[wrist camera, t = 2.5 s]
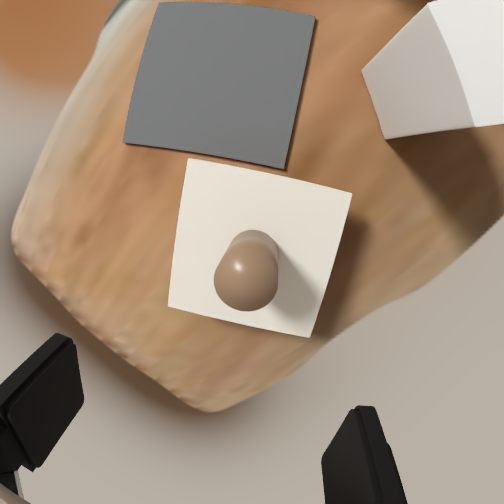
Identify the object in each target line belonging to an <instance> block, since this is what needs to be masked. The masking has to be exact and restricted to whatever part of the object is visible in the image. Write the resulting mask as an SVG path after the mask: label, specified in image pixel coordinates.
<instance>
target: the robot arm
mask: <svg viewBox="0 0 504 504" xmlns="http://www.w3.org/2000/svg"><path fill="white" fill-rule="evenodd" d="M83 403H84V394H83V389H82V383H81V378H80V371H79V364H78V358H77V350H76V345H75V344H73V341H72V339H71V338H69V337H66V336H64V335H62V334H59V333H56V334H54V335H53V336H52V337H51V338H49V340H47V341H46V342H45V343H44V344H43V345H42V346H41V347H40V348H38V349H37V350H36V351H35V352H34V353H33V354H32V355H31V356H30V357H29V358H28V359H27V360H26V361H24V362H23V363H22V364H21V365H20V366H19V367H18V368H17V369H16V370H15V371H14V372H13V373H12V374H11V375H10V376H9V377H8V378H7V379H6V380H5V381H4V382H3V383H2V384H1V385H0V504H30V503H29V502H27V501H26V500H24V497H23V493H22V488H21V484H20V479H19V474H18V469H19V467H20V466H21V465H23V466H24V467H26V468H27V469H29V470H30V471H32V472H33V471H34V470H35V468H36V467H37V468H39V467H41V465H42V464H43V463H44V461H45V460H46V458H47V457H48V455H49V454H50V452H51V451H52V449H53V448H54V446H55V444H56V443H57V442H58V440H59V439H60V437H61V436H62V434H63V433H64V431H65V430H66V428H67V427H68V426H69V424H70V422H71V421H72V420H73V418H74V417H75V416H76V414H77V413H78V411H79V410H80V408H81V407H82V405H83ZM321 465H322V474H323V484H324V495H325V504H407V500H406V497H405V493H404V490H403V486H402V483H401V479H400V476H399V473H398V470H397V466H396V463H395V460H394V457H393V454H392V450H391V448H390V446H389V444H388V443H387V442H386V439H385V436H384V433H383V429H382V426H381V424H380V420H379V418H378V415H377V412H376V409H375V408H374V407H373V406H356V407H355V409H351V410H350V411H349V413H348V415H347V416H346V418H345V420H344V422H343V423H342V425H341V427H340V428H339V430H338V431H337V433H336V435H335V437H334V438H333V440H332V441H331V443H330V445H329V446H328V448H327V449H326V451H325V452H324V454H323V456H322V461H321Z"/></svg>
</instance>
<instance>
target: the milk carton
mask: <svg viewBox="0 0 504 504" xmlns="http://www.w3.org/2000/svg"><path fill="white" fill-rule="evenodd" d="M362 75H363V77H364V80H365V83H366V85H367V88H368V91H369V94H370V96H371V99H372V102H373V105H374V108H375V111H376V114H377V117H378V120H379V123H380V127H381V130H382V133H383V136H384V139H393V138H399V137H405V136H411V135H418V134H425V133H432V132H439V131H446V130H454V129H463V128H472V127H481V126H488V125H496V124H504V0H437V1H433V2H429V3H427V5H426V6H425V7H424V8H423V9H422V10H421V11H419V12H418V13H417V14H416V15H415V16H414V17H413V18H412V19H411V20H410V21H409V22H408V23H407V24H406V25H405V26H404V27H403V28H402V29H401V30H400V31H399V32H398V33H397V34H396V35H395V36H394V37H393V38H392V39H391V40H390V41H389V42H388V43H387V44H386V46H385V47H384V48H383V49H382V50H381V51H380V52H379V53H378V54H377V55H376V56H375V57H374V58H373V59H372V60H371V61H370V62H369V63H368V64H367V65H366V66H365V67H364V68H363V69H362Z"/></svg>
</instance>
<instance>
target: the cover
mask: <svg viewBox="0 0 504 504" xmlns="http://www.w3.org/2000/svg"><path fill="white" fill-rule="evenodd" d="M351 197H352V193H349V192H346V191H342V190H338V189H334V188H330V187H326V186H322V185H318V184H314V183H310V182H306V181H302V180H298V179H293V178H289V177H285V176H280V175H276V174H271V173H266V172H262V171H257V170H252V169H247V168H242V167H237V166H232V165H226V164H221V163H215V162H210V161H204V160H198V159H192V158H188V163H187V168H186V174H185V180H184V186H183V192H182V198H181V204H180V211H179V217H178V224H177V231H176V239H175V246H174V254H173V262H172V271H171V280H170V290H169V300H168V306H169V307H173V308H177V309H181V310H185V311H189V312H192V313H196V314H200V315H205V316H209V317H213V318H217V319H221V320H226V321H230V322H234V323H239V324H243V325H248V326H253V327H257V328H262V329H267V330H272V331H277V332H282V333H287V334H292V335H297V336H303V337H308V338H310V335H311V333H312V330H313V327H314V324H315V321H316V318H317V315H318V312H319V309H320V306H321V302H322V299H323V296H324V293H325V290H326V287H327V283H328V280H329V277H330V274H331V270H332V267H333V264H334V260H335V257H336V253H337V250H338V246H339V243H340V239H341V235H342V232H343V228H344V224H345V220H346V217H347V213H348V209H349V205H350V201H351Z"/></svg>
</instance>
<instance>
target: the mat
mask: <svg viewBox="0 0 504 504" xmlns="http://www.w3.org/2000/svg"><path fill="white" fill-rule="evenodd" d="M314 21H315V16H311V15H306V14H301V13H296V12H291V11H285V10H279V9H273V8H266V7H259V6H250V5H240V4H229V3H211V2H162V3H159V4H158V7H157V10H156V13H155V16H154V19H153V22H152V25H151V28H150V31H149V34H148V37H147V40H146V44H145V47H144V51H143V54H142V58H141V61H140V65H139V69H138V73H137V77H136V81H135V85H134V89H133V93H132V97H131V102H130V107H129V111H128V116H127V121H126V127H125V132H124V138H123V143H132V144H140V145H148V146H156V147H164V148H171V149H178V150H185V151H191V152H197V153H203V154H209V155H215V156H221V157H226V158H232V159H237V160H242V161H247V162H252V163H257V164H262V165H267V166H272V167H276V168H281V169H284V165H285V161H286V156H287V151H288V147H289V142H290V137H291V133H292V128H293V123H294V119H295V114H296V109H297V104H298V100H299V95H300V90H301V85H302V80H303V76H304V71H305V66H306V61H307V56H308V51H309V46H310V41H311V36H312V31H313V26H314Z"/></svg>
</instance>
